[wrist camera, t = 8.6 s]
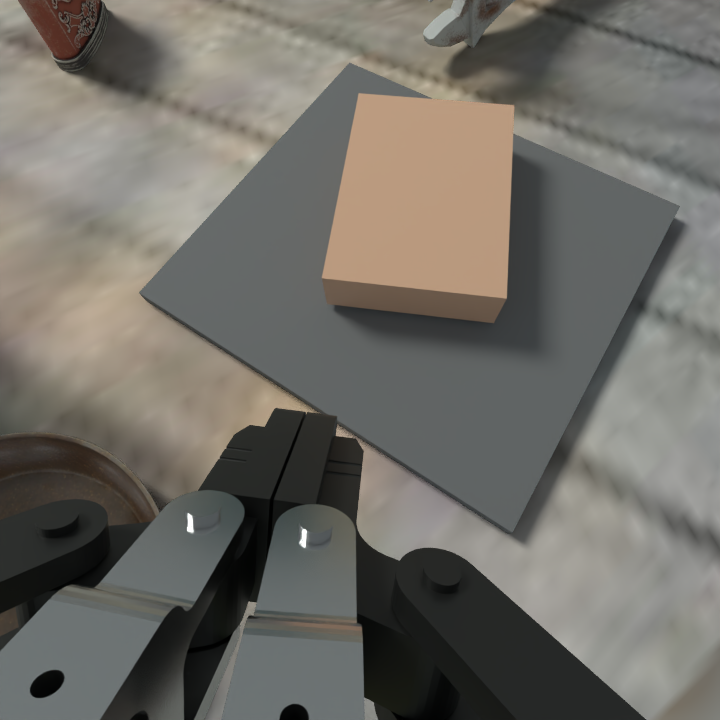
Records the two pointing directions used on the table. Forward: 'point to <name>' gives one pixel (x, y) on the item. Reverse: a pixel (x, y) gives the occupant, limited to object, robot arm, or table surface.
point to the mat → (421, 332)
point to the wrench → (464, 22)
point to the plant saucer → (66, 482)
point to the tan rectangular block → (423, 209)
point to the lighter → (69, 28)
